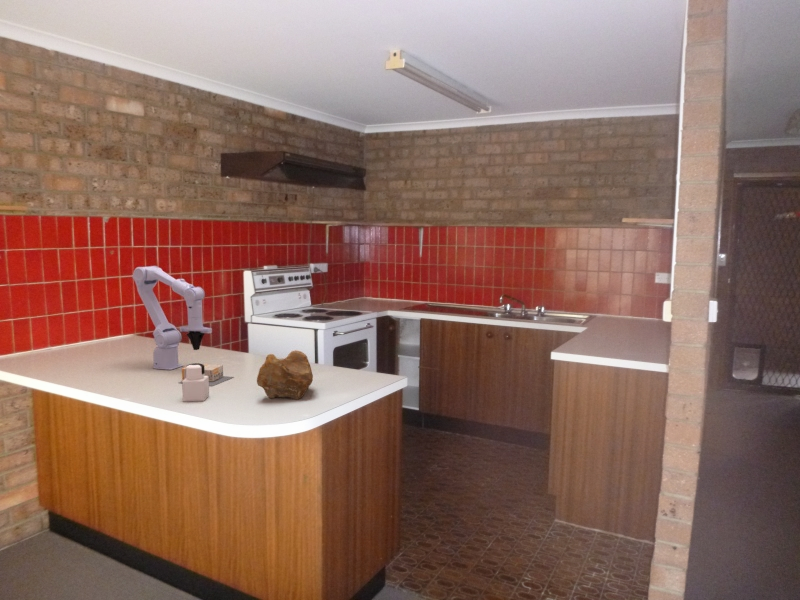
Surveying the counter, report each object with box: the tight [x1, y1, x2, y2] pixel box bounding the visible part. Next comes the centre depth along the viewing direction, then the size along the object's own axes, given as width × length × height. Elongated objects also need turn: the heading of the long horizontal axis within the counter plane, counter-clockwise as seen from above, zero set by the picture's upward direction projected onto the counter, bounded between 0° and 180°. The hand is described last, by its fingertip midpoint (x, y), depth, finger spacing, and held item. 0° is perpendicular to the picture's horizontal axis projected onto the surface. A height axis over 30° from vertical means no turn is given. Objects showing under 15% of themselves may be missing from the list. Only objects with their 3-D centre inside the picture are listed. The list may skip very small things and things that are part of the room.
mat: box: [178, 375, 235, 387], centre depth 225 cm, size 15×14×1 cm
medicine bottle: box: [181, 362, 210, 402], centre depth 200 cm, size 7×7×12 cm
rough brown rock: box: [256, 349, 314, 400], centre depth 204 cm, size 23×17×15 cm
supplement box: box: [181, 363, 224, 381], centre depth 227 cm, size 8×5×13 cm
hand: (196, 349), depth 240 cm, fingers closed
